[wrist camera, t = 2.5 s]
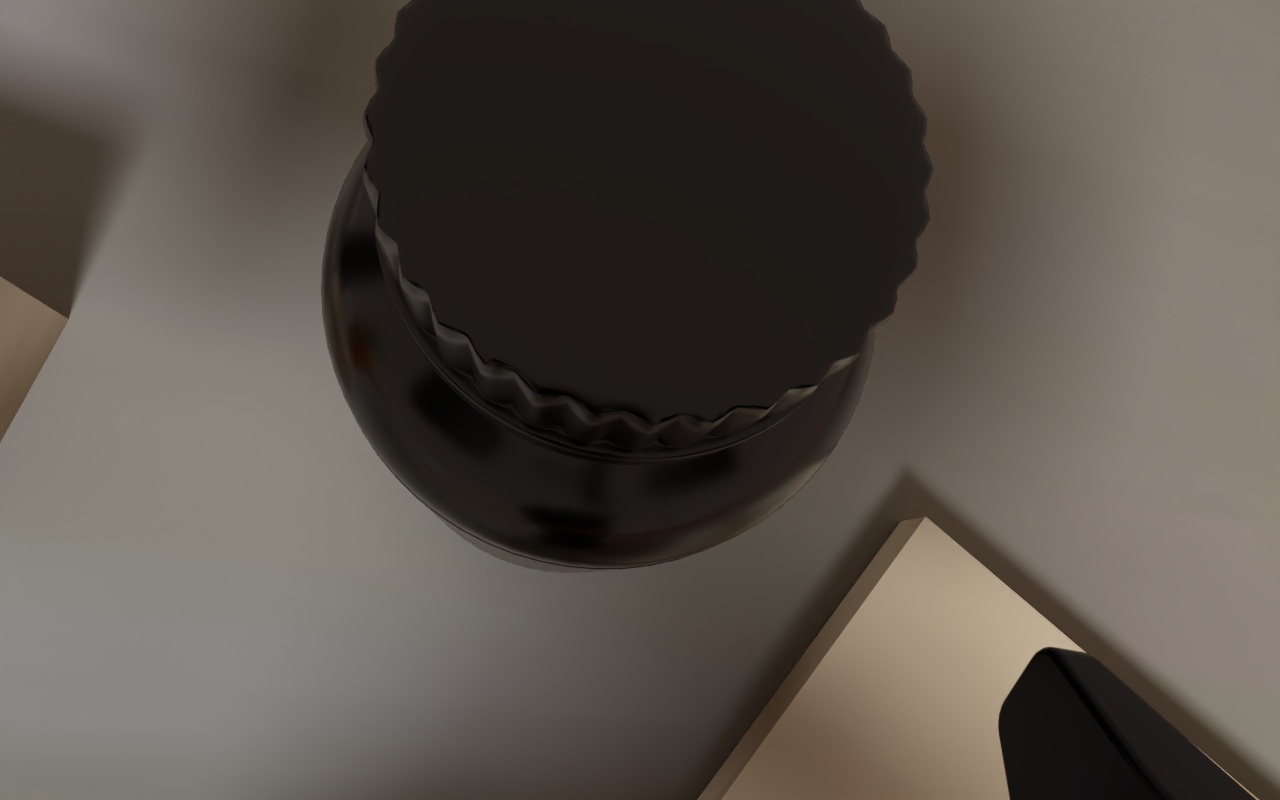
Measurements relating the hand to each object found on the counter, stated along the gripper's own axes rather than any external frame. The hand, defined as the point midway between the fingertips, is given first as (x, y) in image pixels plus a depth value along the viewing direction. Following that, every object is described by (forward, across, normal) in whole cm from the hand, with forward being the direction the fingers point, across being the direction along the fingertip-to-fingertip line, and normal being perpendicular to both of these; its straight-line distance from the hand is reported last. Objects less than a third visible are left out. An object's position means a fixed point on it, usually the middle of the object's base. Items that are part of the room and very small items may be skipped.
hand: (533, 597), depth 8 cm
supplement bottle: (+10, 0, +5) cm, 12 cm away
